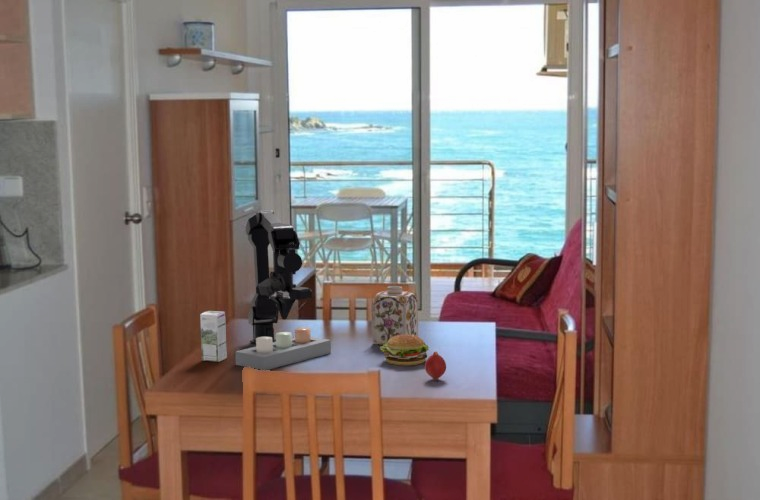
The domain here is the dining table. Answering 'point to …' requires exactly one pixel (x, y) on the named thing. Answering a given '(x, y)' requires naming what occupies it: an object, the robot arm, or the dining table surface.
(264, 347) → the cream rounded tapered piece
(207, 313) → the syrup box
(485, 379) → the dining table surface
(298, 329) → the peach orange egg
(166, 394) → the dining table surface
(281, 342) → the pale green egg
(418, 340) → the food
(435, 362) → the onion
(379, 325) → the decorative jar
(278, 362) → the grey holder tray
